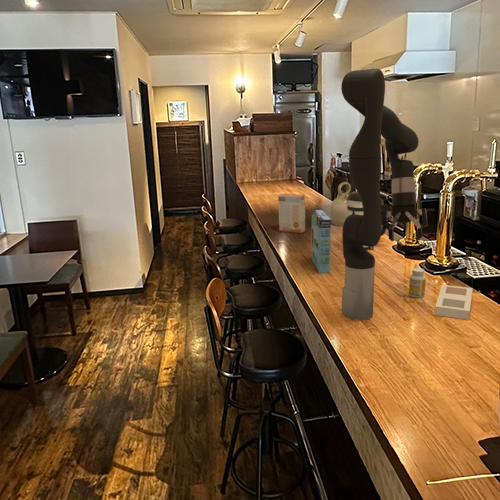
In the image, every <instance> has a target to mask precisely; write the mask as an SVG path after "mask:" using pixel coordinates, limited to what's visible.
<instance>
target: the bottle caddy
mask: <svg viewBox="0 0 500 500" xmlns="http://www.w3.org/2000/svg"><path fill="white" fill-rule="evenodd" d="M439 290H440V291H439V294H438V296H437V301H436V303H435V307H434V308H435V309H434V315H435V316H438V317H439V316H440V317H448V318H452V319H461V320H467V321H469V320H470V314H471V306H472V297H473V287H467V286H466V287H464V286H458V285H447V284H441V286H440V289H439Z"/></svg>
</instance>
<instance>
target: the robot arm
mask: <svg viewBox="0 0 500 500" xmlns="http://www.w3.org/2000/svg"><path fill="white" fill-rule="evenodd" d="M385 80H386V79H385V75H384V73H383V71H382V70H381V69H380V68H369V69H358V70H353V71H350V72H347V73H346V74H345V75H344V76H343V79H342V80H341V88H340V89H341V94H342V97H343V99H344V100H345V102H346V103H347V104H348V105H349V106H351V107H352V108H354V109H355V110H356V111H357V112H359V114H361V115H362V116H363V117H364V120H363V123H362V126H361V128H360V130H359V131H358V133H357V135H356V136H355V138H354V139H353V142H352V144H351V146H350V148H349V150H348V173H349V177H350V179H351V182H352V185H353V186H354V188H355V190H356V191H357V192H358V194H359V196H360V198H361V201H362V205H363V215H358V214H351V215H349V216H348V217H347V218H346V219H345V221H344V224H343V226H342V233H341V234H342V235H341V236H342V237H341V238H342V255H343V259H344V286H342V287H341V315H343V316H345V317H347V318H348V319H350V320H351V321H356V320H357V321H365V320H369V319H371V318H373V315H374V298H375V297H374V296H375V269H376V268H375V266H376V262H375V261H376V258H375V256H374V254H372V253H371V252H370V251H368V250H367V249H366V247H364V246H368V247H370V248H372V247H375V246H377V245H378V244H379V242H380V241H381V237H382V236H381V233H382V218H383V228H384V229H386V230H387V231H388V240H390V242H395V234H394V233H395V232H394V228H395V227H396V226H397V225H398V223H400V224H402V223H411V222H412V223H413V224H414V225H415V227H417V228H416V240H417V241H421V239H422V238H423V228H426V227H428V226H429V223H428V222H429V221H428V213H427V209H426V208H425V207H423V208H417V201H416V199H417V198H416V197H417V196H416V182H415V175H414V174H415V173H414V171H415V168H414V163H413V161H412V160H410V159H401V158H400V157H399V155H402V154H408V153H412V152H415V151H416V150H417V149H418V146H419V142H420V141H419V137H418V135H417V133H416V131H415V130H413V129H412V128H410V127H409V126H407V125H406V124H404V123H403V122H402V121H401V119H400V118H399V117H398V115H397V114H396V113H395V112H394V111H393V110H392V109H391V108H389V107H387V106H386V105H384V104H385V103H384V102H385V93H386V81H385ZM382 138H383V139H384V140H385V141H384V147H385V148H384V149H385V151H386V154H387V156H388V159H389V164H390V167H391V200H392V201H391V204H392V205H391V206H392V207H391V208H392V209H391V211H390V210H389V211H388V210H386V211H383V212H382V210H381V205H382V204H381V172H382V171H381V169H382V168H381V167H382V166H381V165H382ZM418 213H419V215H420V216H421V221H422V223H420V222H419V220H418V219H417V218H416V216H417V214H418ZM390 216H392V217H393V219H392V221H391V222H390V224H389V222H388V221H389V219H388V218H390ZM368 247H367V248H368Z"/></svg>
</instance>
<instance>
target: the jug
mask: <svg viewBox="0 0 500 500" xmlns="http://www.w3.org/2000/svg"><path fill="white" fill-rule="evenodd" d="M344 185H346V186H347V189H346V191H345V192H342V187H343V186H344ZM351 187H352V186H351V184H350V183H349V182H347V181H343V182H341V183H339V185H338V187H337V192H338V193H337V197H336V198H334V199H333V200H332V202H331V204H330V214H331V222H332V224H333V226H337V227H343V224H344V221H345V219H346V218H347V214H348V209H347V205H348V204H344V203H345V201H346V199H347V197H348V195H349V194H350V193H351V190H352V189H351Z"/></svg>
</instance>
